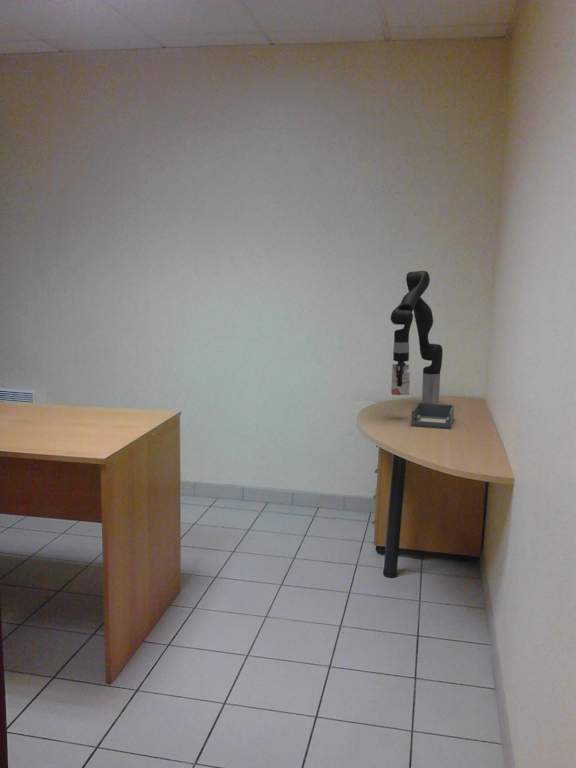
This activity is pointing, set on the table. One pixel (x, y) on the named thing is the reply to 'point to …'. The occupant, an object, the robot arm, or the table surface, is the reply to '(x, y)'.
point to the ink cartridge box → (405, 381)
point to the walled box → (432, 415)
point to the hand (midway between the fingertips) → (400, 384)
